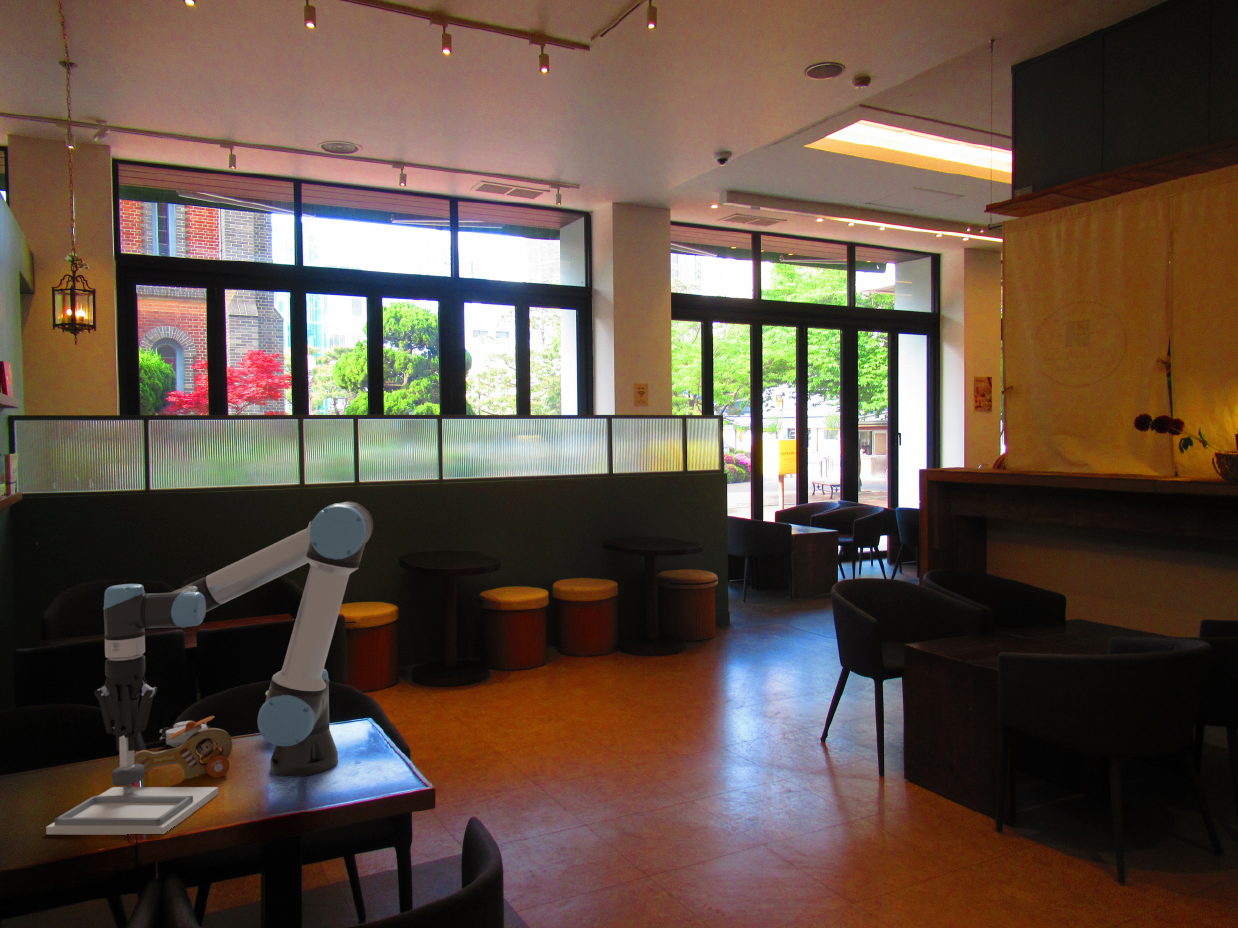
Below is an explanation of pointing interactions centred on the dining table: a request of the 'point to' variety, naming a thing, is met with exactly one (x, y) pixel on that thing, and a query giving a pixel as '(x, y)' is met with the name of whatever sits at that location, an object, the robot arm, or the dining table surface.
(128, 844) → the dining table surface
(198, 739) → the toy helicopter
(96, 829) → the board
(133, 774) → the wheel
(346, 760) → the dining table surface
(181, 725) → the robot toy
